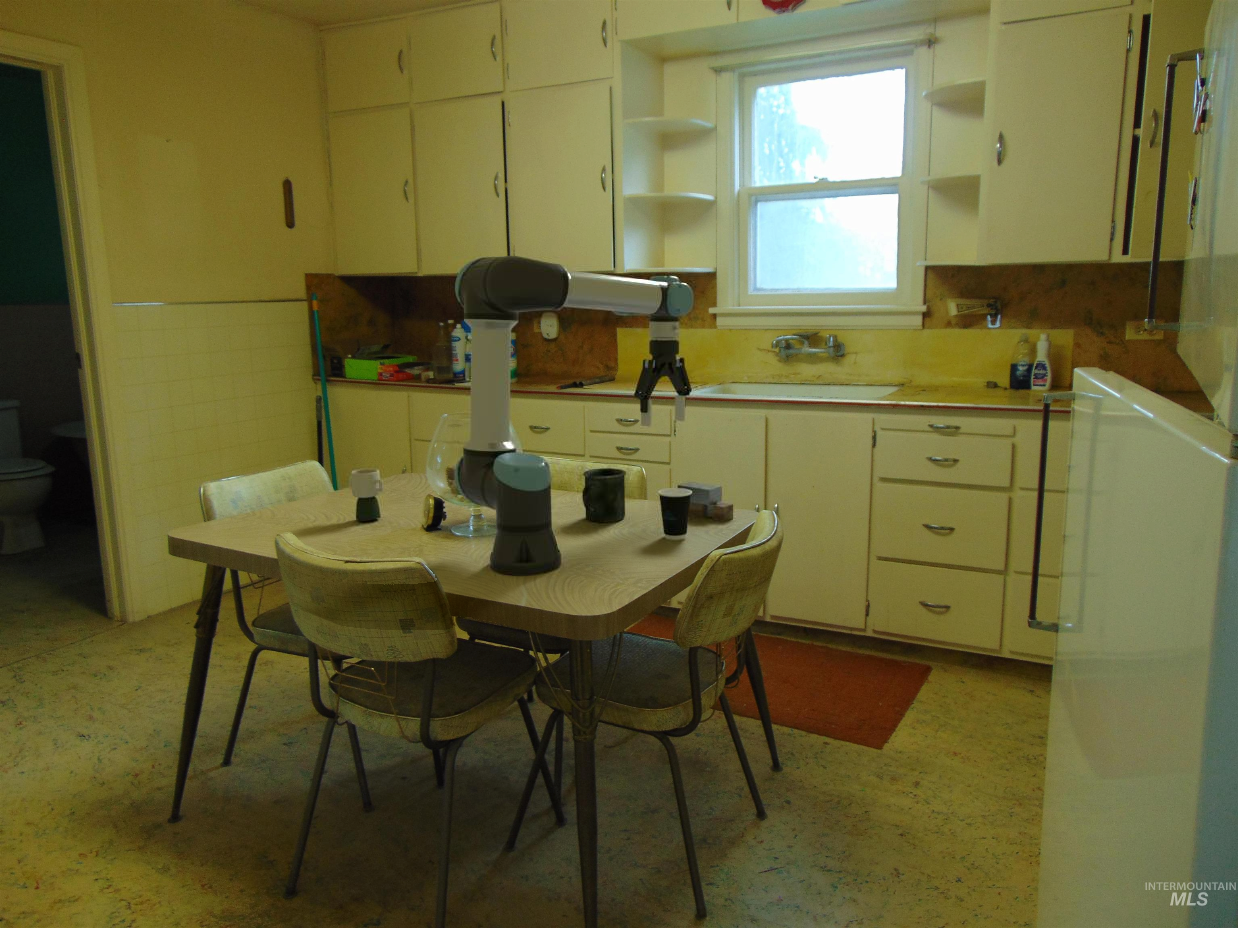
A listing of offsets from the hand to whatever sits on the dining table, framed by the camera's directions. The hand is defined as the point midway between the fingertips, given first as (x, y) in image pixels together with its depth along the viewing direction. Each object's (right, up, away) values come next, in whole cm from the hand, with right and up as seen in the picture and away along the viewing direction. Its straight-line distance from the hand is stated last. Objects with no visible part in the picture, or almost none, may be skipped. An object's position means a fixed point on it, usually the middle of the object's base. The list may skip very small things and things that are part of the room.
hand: (663, 423), depth 228 cm
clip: (+10, -23, +4) cm, 25 cm away
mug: (-16, -25, +1) cm, 29 cm away
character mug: (-76, -25, +4) cm, 80 cm away
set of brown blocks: (+10, -23, +4) cm, 26 cm away
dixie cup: (+2, -28, -17) cm, 33 cm away
